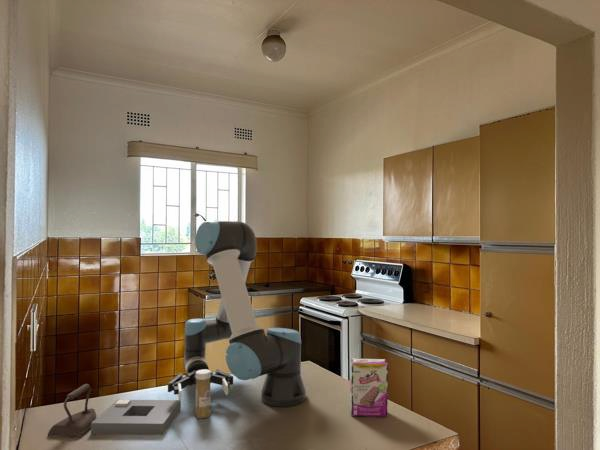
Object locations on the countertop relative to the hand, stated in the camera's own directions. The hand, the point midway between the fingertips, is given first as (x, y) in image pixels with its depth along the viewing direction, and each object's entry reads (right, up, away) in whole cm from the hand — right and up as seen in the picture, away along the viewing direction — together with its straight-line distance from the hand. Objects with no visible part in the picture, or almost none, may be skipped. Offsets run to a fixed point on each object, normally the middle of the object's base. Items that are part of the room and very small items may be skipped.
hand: (204, 392), depth 120 cm
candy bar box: (+50, -9, +4) cm, 51 cm away
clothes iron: (-35, -8, -4) cm, 36 cm away
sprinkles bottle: (-1, -8, +3) cm, 9 cm away
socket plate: (-19, -8, -1) cm, 21 cm away
